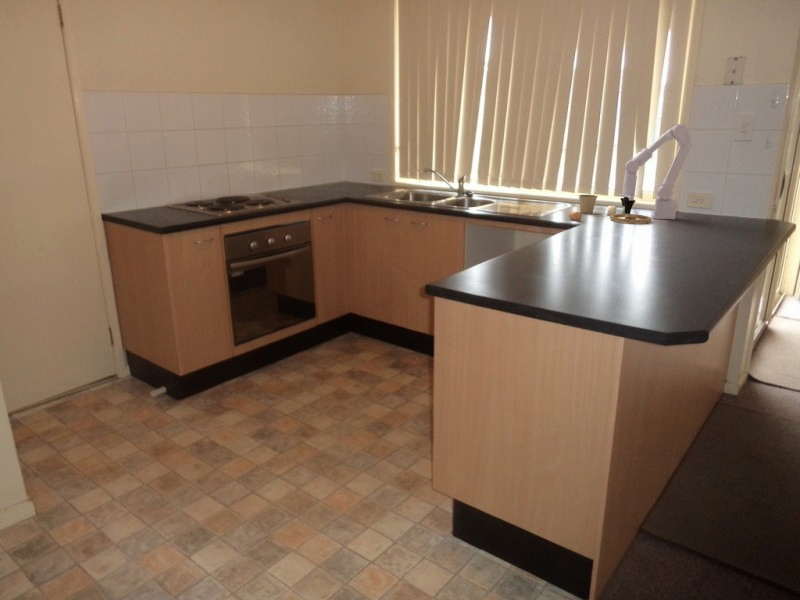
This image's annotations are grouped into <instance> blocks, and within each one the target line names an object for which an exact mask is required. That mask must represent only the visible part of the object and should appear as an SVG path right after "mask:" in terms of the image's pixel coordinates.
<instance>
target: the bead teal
mask: <svg viewBox="0 0 800 600" xmlns="http://www.w3.org/2000/svg"><path fill="white" fill-rule="evenodd" d="M621 210H622V211H621V214H625V206H623V208H622V209H621ZM631 212H632V210H631V211H630V214H632V213H631Z"/></svg>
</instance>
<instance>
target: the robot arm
mask: <svg viewBox="0 0 800 600" xmlns="http://www.w3.org/2000/svg"><path fill="white" fill-rule="evenodd" d="M674 139H675V140H676V143H677V145H679V146H678V149H677V151H676V154H675V155H674V158H673V160H672V163H671V165H670V167H669V169H668V172H667V174H666V176H665V178H664V180H663V182H662V183H661V185H659V186H658V187H657V189H656V193H657V197H655V203H654V210H653V214H651V215H650V218H653V219H654V220H657V219H659V220H660V219H661V220H662V219H663V220H676V214H677V206H678V205H677V204H678V203H677V201H676V200H675V199H672V196H673V193H674V191H673V190H674V188H675V187H674V186H675V183H676V180H677V178H678V177H679V174H680V172H681V170H682V168H683V166H684V163H685V160H686V159H687V156H688V155H689V152H690V149H691V147H692V140H691V139H692V138H691V133H690V130H689V129H688V127H687V126H686V125H685V124H680V123H678V124H675V125H673V126H672V127H671V128H669V129H668V130H666V131H665V132H664V133H662V135H660V136H659V137H657V139H656V140H655V141H654V142H653V143H651V144H650V146H649V147H644V148H642V149H639V150H638V153H636V154H635V155H634V156H633V157H631V158H630V160H629V161H627V162H626V163H625V166H624V168H625V171H624V176H623V177H624V179H623V185H622V186H623V187H622V193H620V194H619V196H621V197H620V201H621V206H622V208H623V206H625V214H631V213H630V211H631V212H632V208H633V206H634V204H635V203H636V200H635V197H636V194H635V193H636V189H637V188H636V187H637V179H638V178H637V177H638V176H637V173H638V171H639V168H640V167H642V166H644V164H646V163H647V162H648V161H649V160H650V159H651V158H652V157H653V153H654V152H655V151H657V150H658V149H659V148H660V147H661V146H663V145H664V144H665V143H666V142H669V141H671V140H674Z"/></svg>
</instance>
